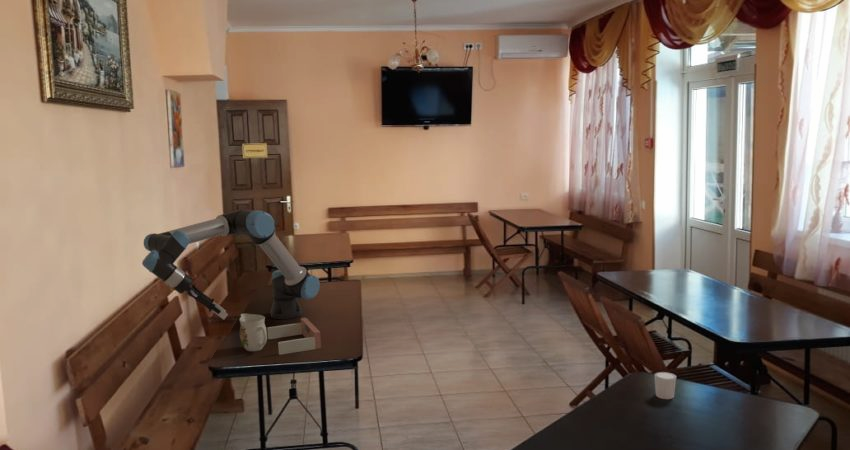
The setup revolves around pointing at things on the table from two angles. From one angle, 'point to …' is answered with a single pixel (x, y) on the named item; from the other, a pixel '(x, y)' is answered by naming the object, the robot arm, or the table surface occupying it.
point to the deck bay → (305, 328)
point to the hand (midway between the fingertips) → (224, 315)
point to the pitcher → (253, 331)
